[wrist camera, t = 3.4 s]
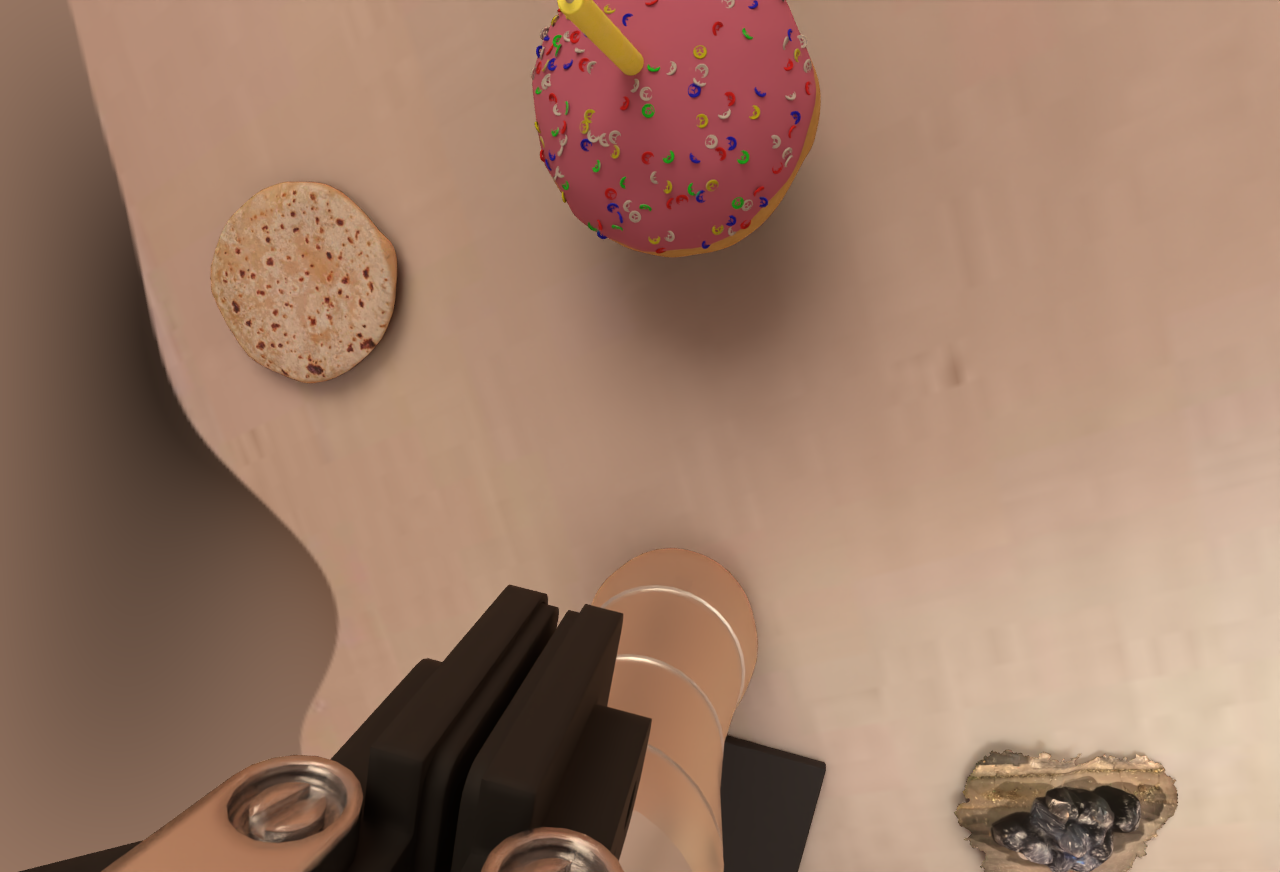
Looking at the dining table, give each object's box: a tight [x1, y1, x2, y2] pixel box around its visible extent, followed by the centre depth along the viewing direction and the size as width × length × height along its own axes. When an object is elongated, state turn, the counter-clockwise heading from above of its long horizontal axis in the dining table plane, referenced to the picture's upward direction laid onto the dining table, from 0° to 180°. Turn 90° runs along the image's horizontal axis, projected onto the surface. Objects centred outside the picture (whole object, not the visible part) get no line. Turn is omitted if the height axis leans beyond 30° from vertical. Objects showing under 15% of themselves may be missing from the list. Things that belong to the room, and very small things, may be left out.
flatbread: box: [210, 182, 397, 383], centre depth 32 cm, size 8×8×1 cm
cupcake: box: [531, 0, 821, 257], centre depth 23 cm, size 9×8×12 cm
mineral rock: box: [954, 750, 1178, 872], centre depth 31 cm, size 7×8×2 cm
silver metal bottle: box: [591, 548, 758, 872], centre depth 23 cm, size 6×7×20 cm
